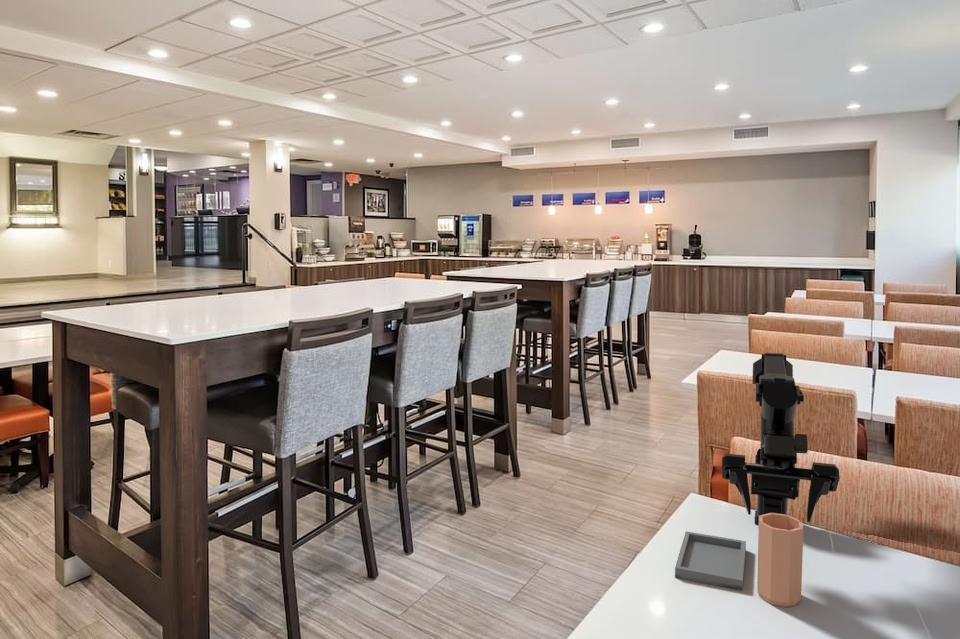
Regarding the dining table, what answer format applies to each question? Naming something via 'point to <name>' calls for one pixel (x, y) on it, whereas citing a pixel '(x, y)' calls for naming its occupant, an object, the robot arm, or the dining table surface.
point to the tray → (712, 560)
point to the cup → (780, 559)
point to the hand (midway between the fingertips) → (778, 517)
